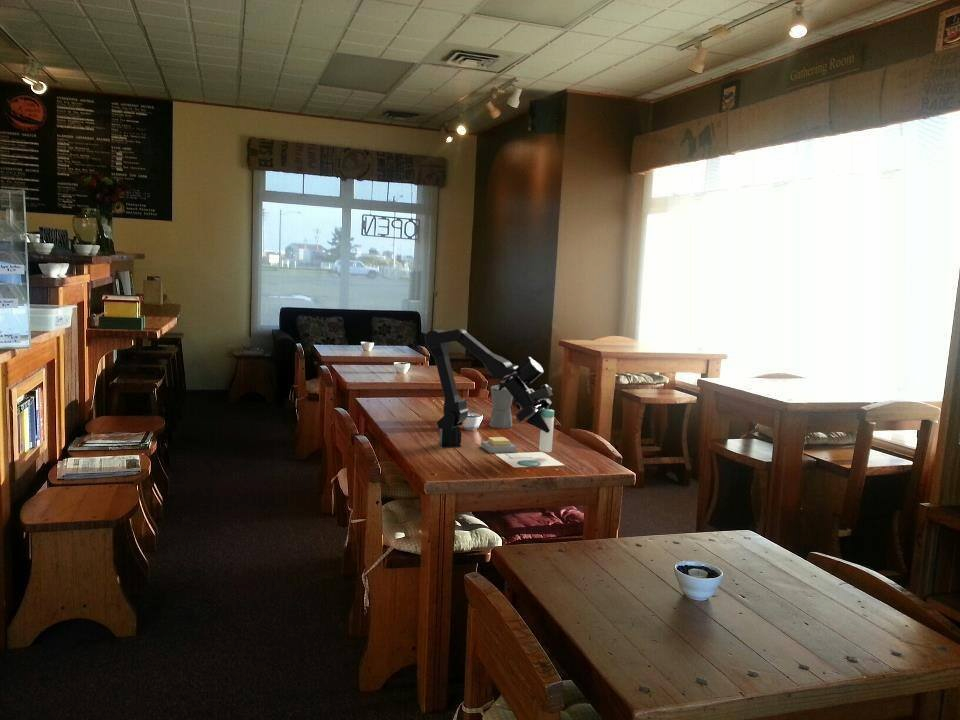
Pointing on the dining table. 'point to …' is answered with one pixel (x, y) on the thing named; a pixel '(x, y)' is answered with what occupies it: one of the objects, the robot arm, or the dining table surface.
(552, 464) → the drawing board
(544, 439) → the marker
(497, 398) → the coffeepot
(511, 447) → the button housing
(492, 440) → the button
